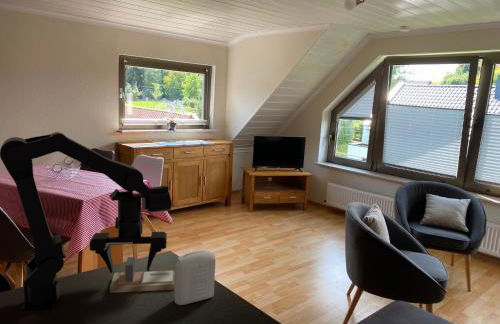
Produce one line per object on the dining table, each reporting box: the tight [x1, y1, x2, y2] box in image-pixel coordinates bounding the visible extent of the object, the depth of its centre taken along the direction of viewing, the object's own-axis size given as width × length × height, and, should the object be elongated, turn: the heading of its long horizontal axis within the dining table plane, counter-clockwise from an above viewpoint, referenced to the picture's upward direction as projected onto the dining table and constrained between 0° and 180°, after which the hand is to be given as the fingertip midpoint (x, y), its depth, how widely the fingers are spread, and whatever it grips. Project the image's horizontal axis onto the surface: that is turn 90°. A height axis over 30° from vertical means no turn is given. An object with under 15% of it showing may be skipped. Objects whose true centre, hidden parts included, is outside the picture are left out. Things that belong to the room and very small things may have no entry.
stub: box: [118, 256, 142, 285], centre depth 100 cm, size 5×6×5 cm
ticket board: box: [109, 269, 175, 294], centre depth 101 cm, size 16×8×2 cm, turn 101°
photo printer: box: [174, 250, 216, 306], centre depth 94 cm, size 10×4×12 cm, turn 123°
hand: (129, 271), depth 100 cm, fingers open, 9 cm apart
